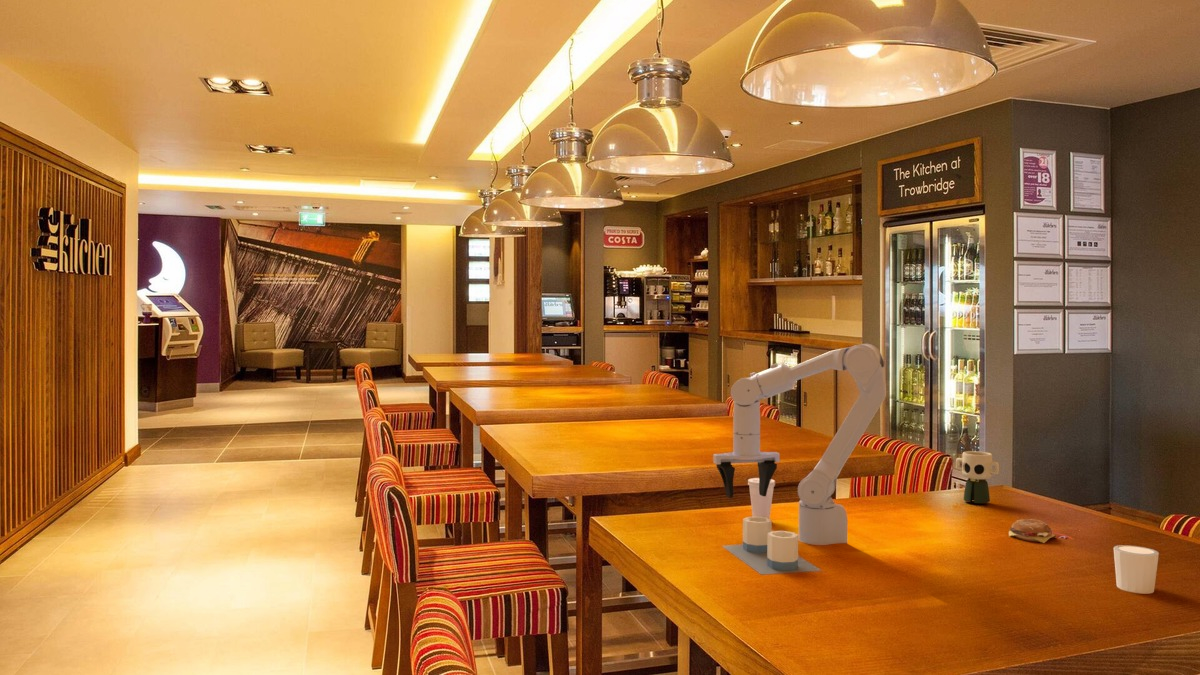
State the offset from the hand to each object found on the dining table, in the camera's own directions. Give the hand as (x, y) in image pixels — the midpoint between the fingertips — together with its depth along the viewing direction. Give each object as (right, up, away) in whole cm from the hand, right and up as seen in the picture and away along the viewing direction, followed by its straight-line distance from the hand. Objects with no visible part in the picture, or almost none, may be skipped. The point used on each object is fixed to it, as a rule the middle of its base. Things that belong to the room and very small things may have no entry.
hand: (746, 496), depth 185 cm
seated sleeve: (+3, -9, -25) cm, 26 cm away
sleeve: (0, -8, -13) cm, 16 cm away
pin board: (+1, -10, -19) cm, 21 cm away
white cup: (+64, -11, -33) cm, 72 cm away
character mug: (+66, -9, +38) cm, 77 cm away
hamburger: (+65, -10, +3) cm, 66 cm away
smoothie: (+6, -9, +17) cm, 20 cm away
